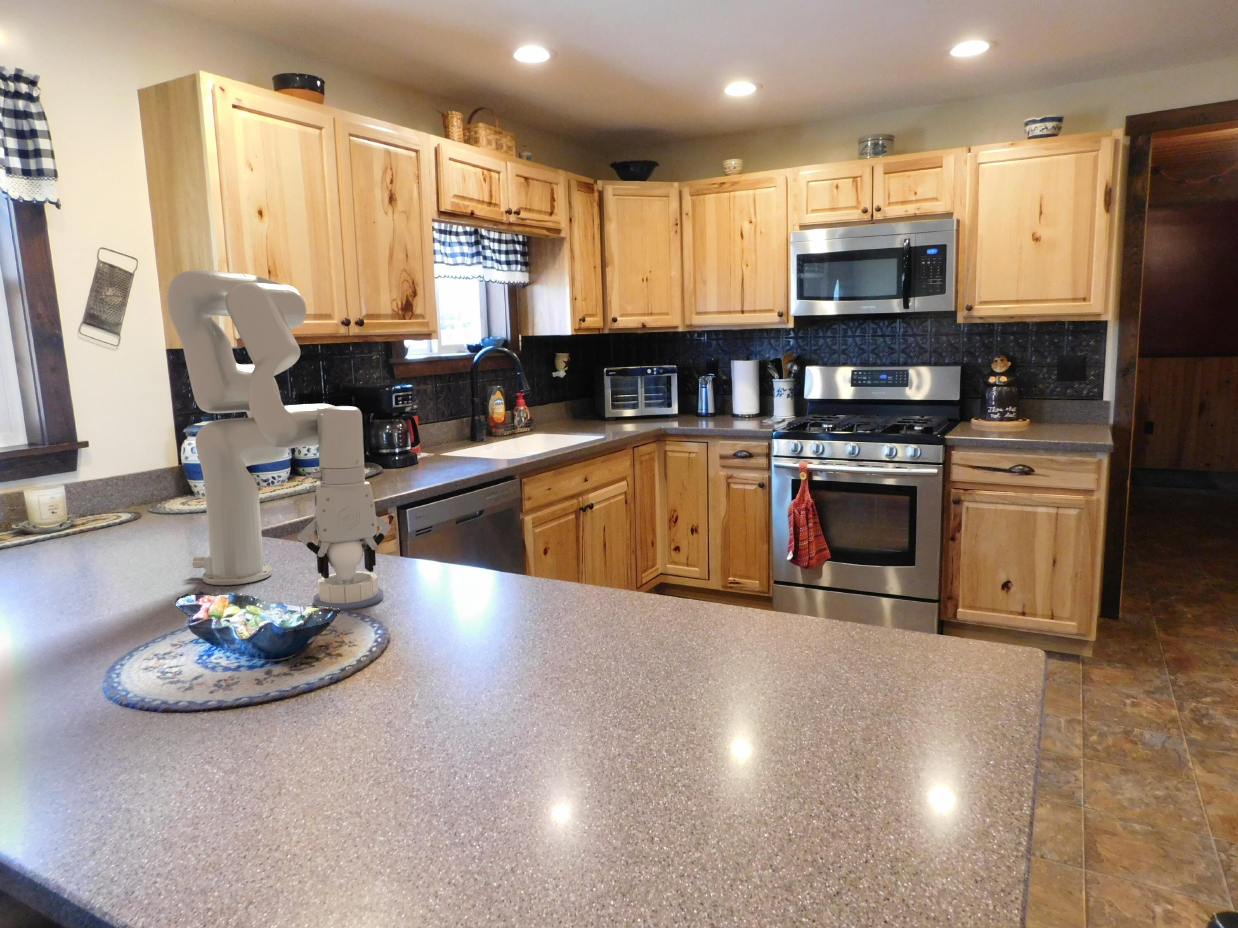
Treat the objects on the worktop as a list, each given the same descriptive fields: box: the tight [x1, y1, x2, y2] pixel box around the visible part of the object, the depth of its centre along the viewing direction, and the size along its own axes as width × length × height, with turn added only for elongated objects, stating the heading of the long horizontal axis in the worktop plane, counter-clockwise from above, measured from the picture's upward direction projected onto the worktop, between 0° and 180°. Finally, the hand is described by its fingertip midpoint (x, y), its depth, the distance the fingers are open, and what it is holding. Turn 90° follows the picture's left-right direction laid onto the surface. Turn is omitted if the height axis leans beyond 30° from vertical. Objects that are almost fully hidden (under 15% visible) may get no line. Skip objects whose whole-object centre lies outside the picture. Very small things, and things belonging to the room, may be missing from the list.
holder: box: [312, 570, 384, 611], centre depth 147 cm, size 12×12×4 cm
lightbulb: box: [326, 539, 364, 585], centre depth 146 cm, size 6×6×11 cm
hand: (347, 572), depth 147 cm, fingers open, 7 cm apart
